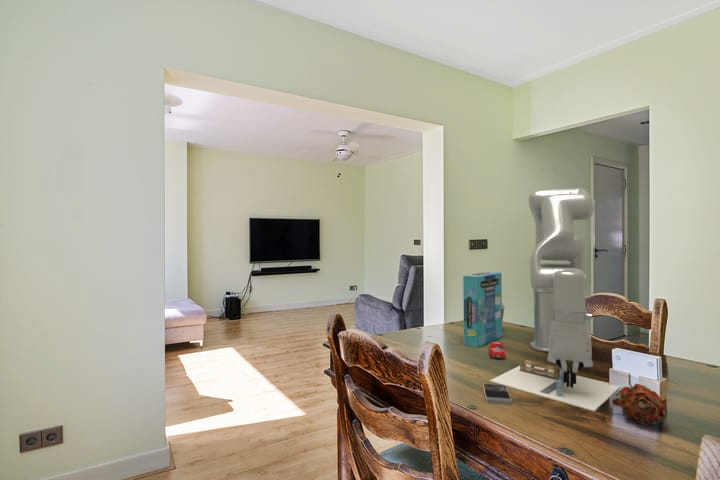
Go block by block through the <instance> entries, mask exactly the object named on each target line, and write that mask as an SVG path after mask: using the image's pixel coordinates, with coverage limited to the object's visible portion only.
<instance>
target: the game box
mask: <svg viewBox="0 0 720 480" xmlns="http://www.w3.org/2000/svg"><path fill="white" fill-rule="evenodd" d="M502 274H503V273H502V272H498V271H486V272H479V273H473V274H465V275H463V277H462V278H463V279H462V281H463V283H462V284H463V286H462V287H463V288H462V289H463V291H462V292H463V294H462V295H463V345H464V346H467V345H468V346H467V347H471V346H472V348H476V349H477V348H480V347H483V346H484V345H487V344H490V342H495V341H496V340H500V339H502V338H503V321H502V302H503V299H502V298H503V296H502V290H503V289H502V285H503V284H502V282H503V281H502V280H503V279H502V276H503V275H502Z"/></svg>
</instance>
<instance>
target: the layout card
mask: <svg viewBox="0 0 720 480" xmlns="http://www.w3.org/2000/svg"><path fill="white" fill-rule="evenodd" d="M526 366H528V367H531V365H527V364H526ZM534 368H537V369H541V370H544V368H540V367H536V366H534ZM548 371H549V372H554V371H553V370H548ZM569 379H570V373H569ZM556 381H557V379H554V376H551V375H548V376H544V374H543V373H539V372H534V373H531V371H530V370H525V371H521V370H520V365H518V366H516V367H515V368H512V369H510V370H508V371H507V372H503V374H500V375H498V376H496V377H494V378H492V379H490V380H489V382H490V383H493V384H495V385H503V386H506V387H507V388H511V389H514V390H518V391H521V392H525V393H528V394H531V395H535V396H538V397H542V398H545V399H548V400H552V401H554V402H555V401H556V402H560V403H563V404H566V405H568V406H569V405H570V406H574V407H576V408H577V407H578V408H580V409H582V410H583V409H584V410H587V411H590V412H594V413H595V412H596V411H597V410H598V409H599V408H600V407H601V406H602V405H603V404H605V402H606V401H608V400H609V399H610V398H612V396H613V395H614V394H616V393H617V391H618V390H617V389H613V388H611V387H610V386H609V382H605V381H602V380H598V379H593V378H590V377H584V376H581V375H577V374H576V384H573V388H571V387H567V383H565V382H564V383H563V387H562V395H557V384H556Z"/></svg>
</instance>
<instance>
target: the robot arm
mask: <svg viewBox="0 0 720 480" xmlns="http://www.w3.org/2000/svg"><path fill="white" fill-rule="evenodd" d="M528 205H529V206H528V207H529V209H530V212H531V214H532V217H533V219H534V223H535V248H534V249H533V251H532V253H531V255H530V260H529V271H530V284H531V288H532V290H533V308H534V309H533V319H534V320H533V324H534V325H533V327H534V329H533V332H534V338H533V340H534V341H531V342H529V347H530V348H531V349H533V350H535V351H539V352H543V353H548V354H547V358H546V359H547V362H549V363H552V364H555V365H557V366H559V367H560V368H561V369H562V370H563V377H564V382H565V383H567V387H571V388H573V384H576V375H577V373H578V372H579V371H580V370H581V369H583V368H590V367H593V366H594V363H593V359H592V355H593V353H592V352H593V351H592V350H593V349H592V337H591V328H590V324H589V323H588V322H587V321H588V320H592V319H593V317H592V316H593V315H592V314H591V313H587V312H586V288H587V286H588V285H587V283H588V278H587V274H585V273H586V272H585V271H586V270H585V269H586V267H585V266H586V245H585V244H586V243H585V240H584V238H583V237H582V236H581V235H578V234H576V233H575V226H574V221H585V220H587V221H588V220H590V219H591V218H592V217H593V215H594V202H593V199H592V197H591V195H590V193H589V192H588V191H586V190H585V189H584V188H581V187H569V188H547V189H538V190H534V191H532V192H531V193H530V194H529V196H528ZM541 260H542V261H554V262H551V263H550V262H548V263H546V262H545V263H544V262H543V263H541ZM555 261H556V263H555ZM557 261H558V263H557ZM559 261H560V263H559ZM561 261H564V262H565V261H567V262H569V263H561ZM567 361H569V362H572V366H571V367H570V369H569V367H568V364H567ZM569 374H570V379H569Z"/></svg>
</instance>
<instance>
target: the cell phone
mask: <svg viewBox="0 0 720 480" xmlns="http://www.w3.org/2000/svg"><path fill="white" fill-rule="evenodd" d="M482 389H483V393H484V397H485V401H486V402H487V404H492V405H505V406H510V405H511V404H512V403H513V402H512V398H511V396H510V393H509V390H508V387H507V386H503V385H500V384H489V383H488V384H482Z"/></svg>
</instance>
